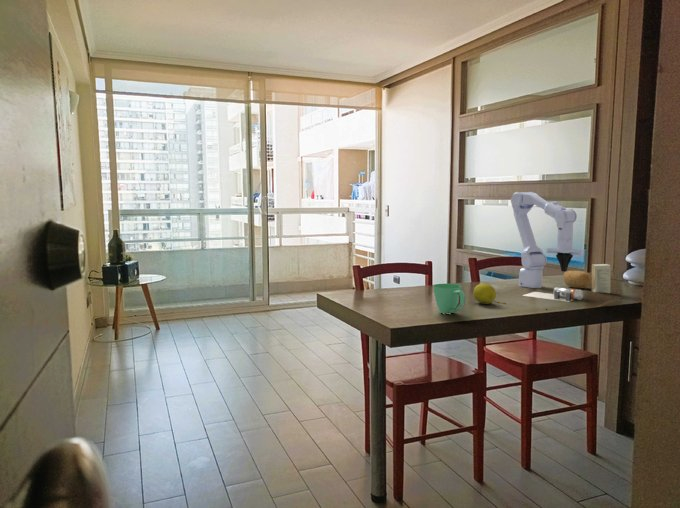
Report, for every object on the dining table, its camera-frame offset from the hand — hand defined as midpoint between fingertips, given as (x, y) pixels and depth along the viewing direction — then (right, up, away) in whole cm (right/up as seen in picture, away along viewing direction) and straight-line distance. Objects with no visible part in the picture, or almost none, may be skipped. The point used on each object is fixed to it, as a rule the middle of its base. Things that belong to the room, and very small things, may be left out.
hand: (564, 271), depth 209 cm
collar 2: (-2, -11, -12) cm, 17 cm away
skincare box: (+17, -10, +3) cm, 19 cm away
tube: (-4, -10, -11) cm, 16 cm away
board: (-8, -11, -6) cm, 15 cm away
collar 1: (-5, -11, -9) cm, 15 cm away
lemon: (-37, -12, -13) cm, 41 cm away
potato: (+12, -8, +15) cm, 21 cm away
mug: (-54, -15, -30) cm, 63 cm away
